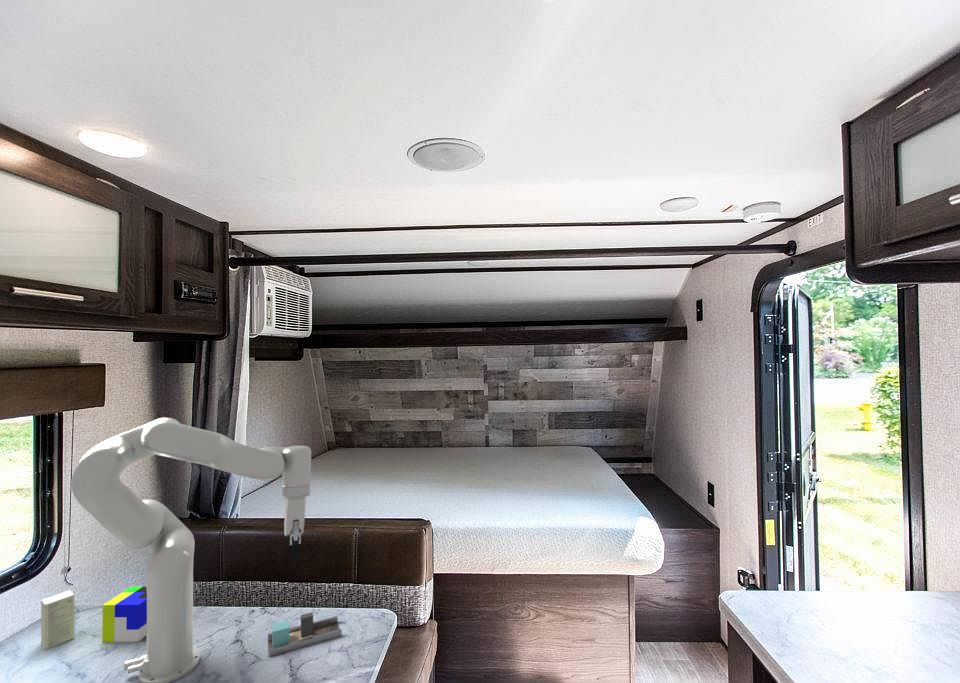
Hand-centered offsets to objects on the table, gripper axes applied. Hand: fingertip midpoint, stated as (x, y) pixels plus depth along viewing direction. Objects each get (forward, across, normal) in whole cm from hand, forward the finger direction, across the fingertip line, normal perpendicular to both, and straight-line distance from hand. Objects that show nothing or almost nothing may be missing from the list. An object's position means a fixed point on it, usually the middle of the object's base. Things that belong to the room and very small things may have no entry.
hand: (294, 551), depth 127 cm
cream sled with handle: (+21, +6, 0) cm, 22 cm away
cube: (+20, +6, -3) cm, 22 cm away
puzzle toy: (+23, -20, -41) cm, 51 cm away
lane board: (+22, +6, +3) cm, 23 cm away
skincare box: (+24, -23, -59) cm, 68 cm away
